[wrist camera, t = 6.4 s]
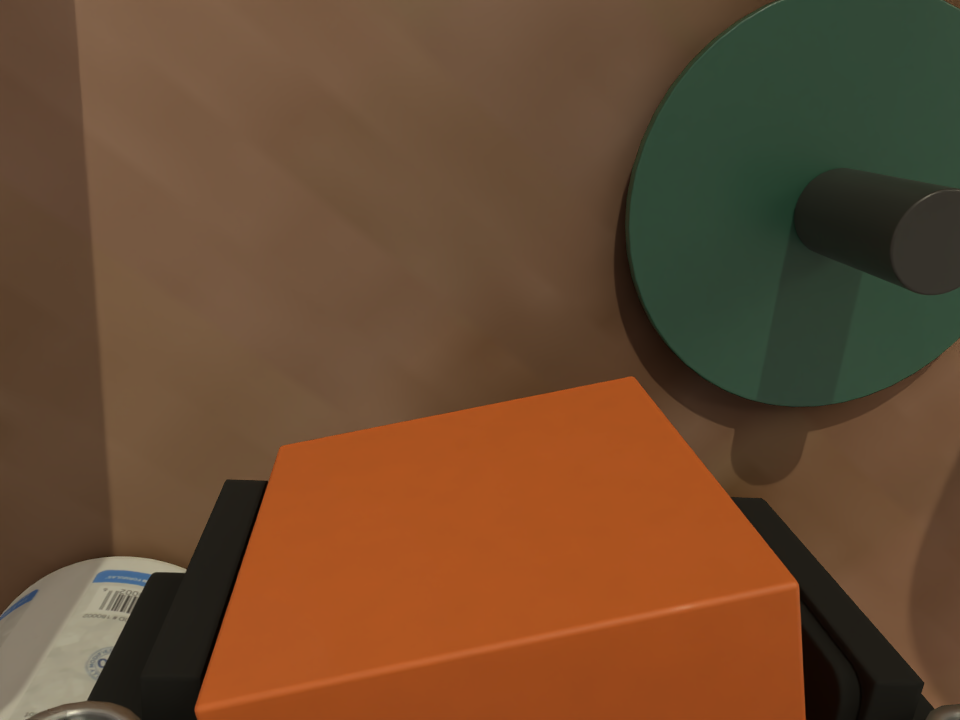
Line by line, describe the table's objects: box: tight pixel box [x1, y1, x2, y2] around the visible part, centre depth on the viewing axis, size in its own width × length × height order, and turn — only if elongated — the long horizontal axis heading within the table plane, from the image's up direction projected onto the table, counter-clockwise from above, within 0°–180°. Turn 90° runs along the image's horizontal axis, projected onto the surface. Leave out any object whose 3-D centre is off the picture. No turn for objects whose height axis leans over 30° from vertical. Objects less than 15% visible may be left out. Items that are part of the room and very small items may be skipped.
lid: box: [625, 0, 960, 407], centre depth 24 cm, size 14×14×7 cm
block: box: [194, 377, 806, 720], centre depth 10 cm, size 5×5×5 cm
